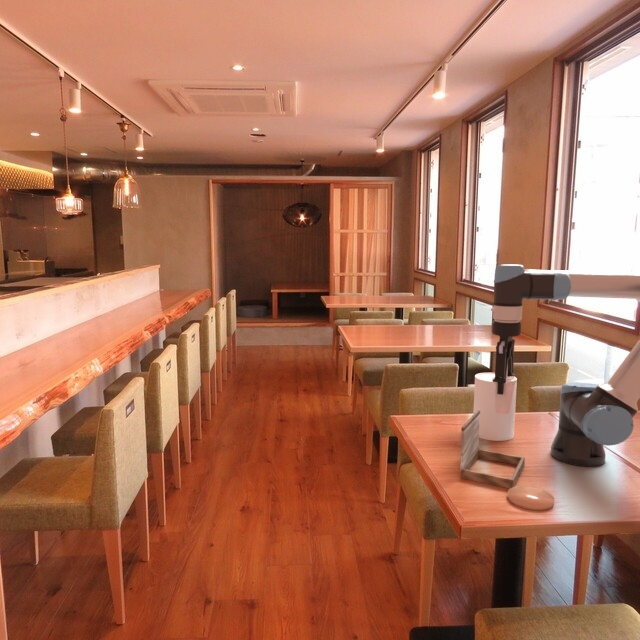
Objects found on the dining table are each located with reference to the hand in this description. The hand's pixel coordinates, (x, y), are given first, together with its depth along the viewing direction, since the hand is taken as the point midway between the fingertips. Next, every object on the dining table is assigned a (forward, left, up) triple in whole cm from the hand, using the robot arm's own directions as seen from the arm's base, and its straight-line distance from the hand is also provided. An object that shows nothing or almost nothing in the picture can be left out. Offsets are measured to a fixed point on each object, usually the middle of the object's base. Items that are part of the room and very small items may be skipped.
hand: (503, 401), depth 151 cm
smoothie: (0, 0, -3) cm, 3 cm away
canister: (+9, -31, -21) cm, 39 cm away
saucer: (-10, +14, -21) cm, 27 cm away
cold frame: (+2, +1, -21) cm, 21 cm away
